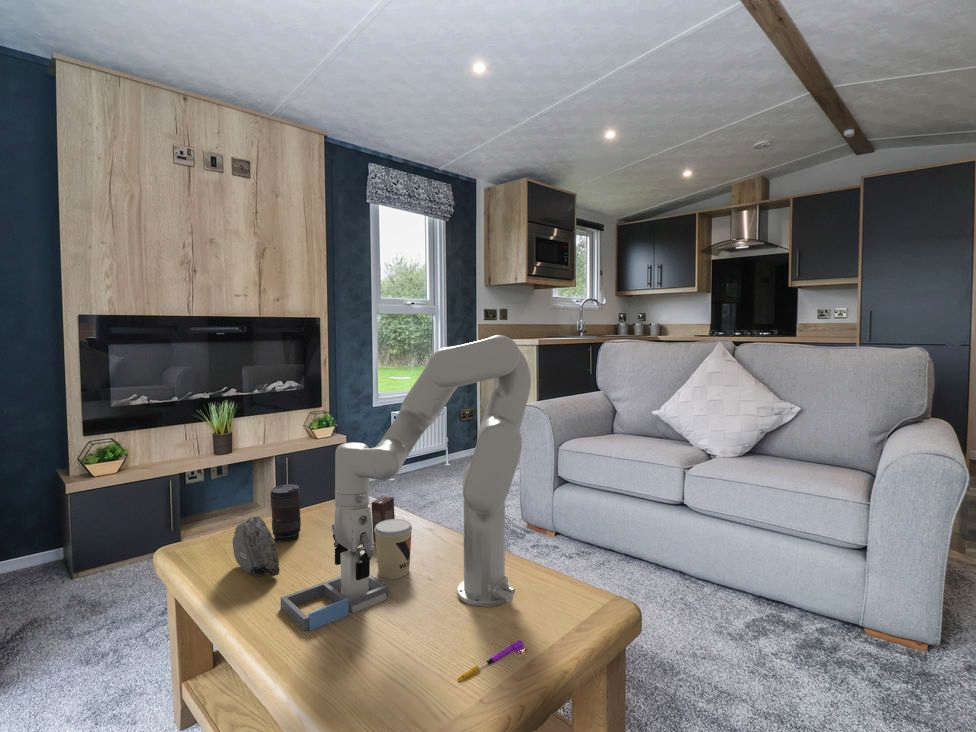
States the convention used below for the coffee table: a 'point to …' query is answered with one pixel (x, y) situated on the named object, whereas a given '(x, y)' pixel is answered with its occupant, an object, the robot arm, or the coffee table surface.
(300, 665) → the coffee table surface
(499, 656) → the purple and yellow tool
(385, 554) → the cream lidded canister
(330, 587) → the divided sorting tray
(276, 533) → the camera lens
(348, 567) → the plug
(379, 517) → the box
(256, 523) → the decorative rock
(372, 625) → the coffee table surface
